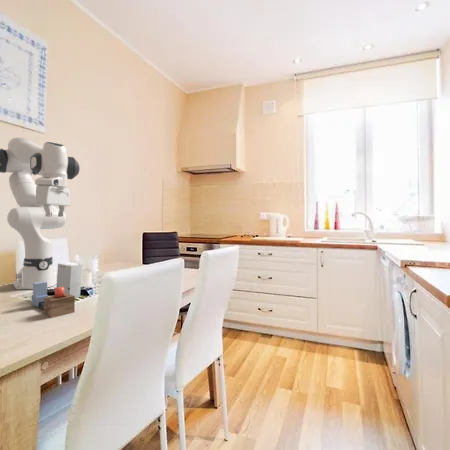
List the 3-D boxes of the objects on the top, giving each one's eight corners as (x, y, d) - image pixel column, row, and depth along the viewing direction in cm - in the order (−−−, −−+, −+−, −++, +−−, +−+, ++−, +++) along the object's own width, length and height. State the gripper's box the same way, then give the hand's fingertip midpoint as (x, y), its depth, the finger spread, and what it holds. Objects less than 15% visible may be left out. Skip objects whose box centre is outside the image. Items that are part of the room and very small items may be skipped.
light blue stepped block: (31, 304, 115) (31, 282, 115) (43, 301, 118) (43, 280, 118) (36, 306, 112) (36, 284, 112) (48, 304, 115) (48, 282, 115)
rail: (34, 305, 116) (34, 300, 116) (40, 304, 117) (40, 299, 117) (48, 312, 108) (48, 307, 108) (54, 311, 109) (54, 306, 109)
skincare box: (55, 297, 127) (55, 263, 126) (67, 294, 132) (68, 261, 132) (70, 300, 124) (70, 265, 123) (81, 296, 129) (82, 263, 129)
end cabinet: (44, 313, 107) (44, 297, 106) (67, 308, 113) (67, 293, 113) (51, 317, 103) (51, 300, 103) (74, 312, 109) (74, 296, 109)
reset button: (53, 296, 107) (53, 287, 107) (62, 294, 110) (62, 286, 110) (57, 297, 106) (57, 289, 106) (65, 295, 108) (65, 287, 108)
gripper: (59, 185, 130) (59, 216, 130) (32, 179, 109) (32, 216, 110) (74, 185, 130) (74, 216, 130) (49, 179, 110) (49, 216, 110)
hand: (54, 216), depth 120 cm, fingers open, 8 cm apart
